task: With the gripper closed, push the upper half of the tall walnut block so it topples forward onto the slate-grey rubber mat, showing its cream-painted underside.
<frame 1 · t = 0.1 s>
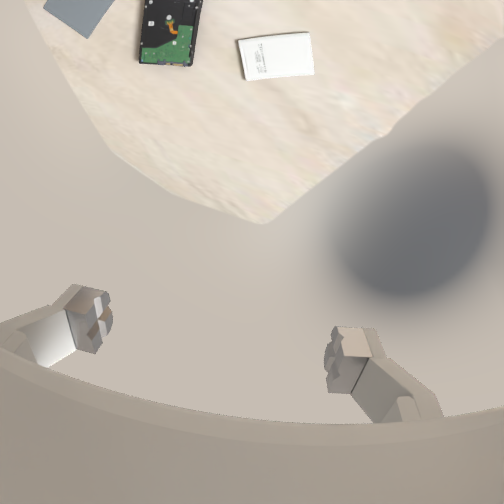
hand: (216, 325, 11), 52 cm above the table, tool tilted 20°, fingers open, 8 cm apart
disk drive: (172, 27, 44), on the table
external hard drive: (277, 55, 47), on the table
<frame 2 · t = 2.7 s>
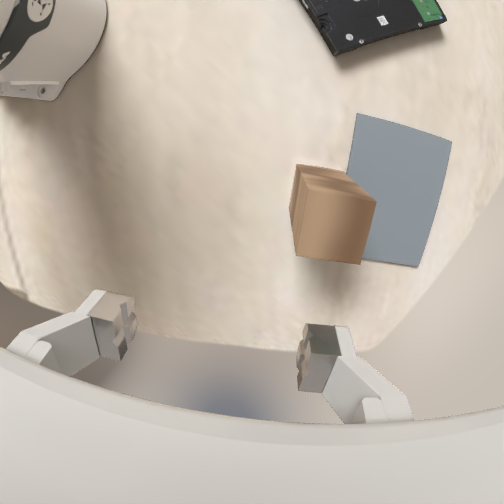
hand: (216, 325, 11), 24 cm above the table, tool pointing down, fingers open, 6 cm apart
rubber mat: (393, 195, 32), on the table
walnut block: (315, 189, 32), on the table
disk drive: (366, 1, 23), on the table
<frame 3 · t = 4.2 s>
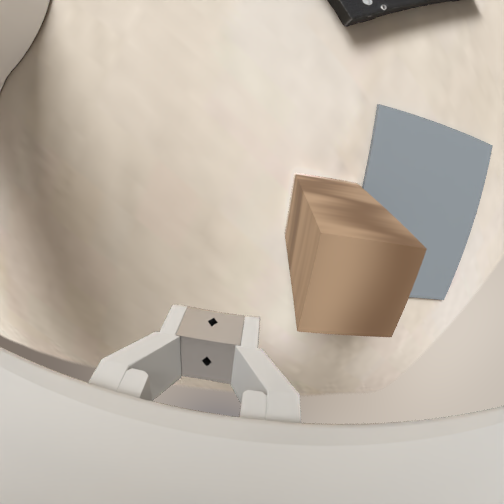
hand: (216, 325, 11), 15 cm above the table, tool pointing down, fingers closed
rubber mat: (421, 214, 24), on the table
walnut block: (320, 208, 24), on the table
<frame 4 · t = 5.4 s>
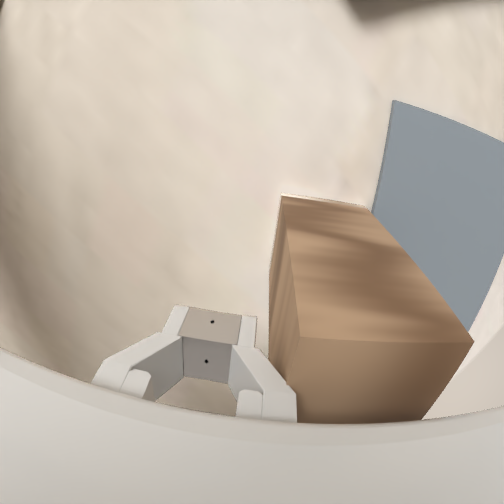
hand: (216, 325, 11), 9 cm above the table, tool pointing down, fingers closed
rubber mat: (444, 244, 18), on the table
walnut block: (316, 238, 18), on the table, touching gripper
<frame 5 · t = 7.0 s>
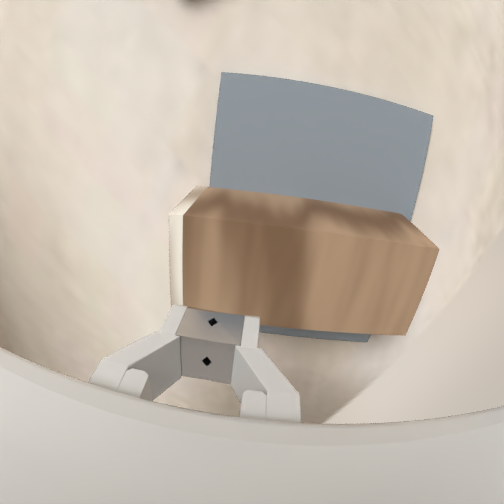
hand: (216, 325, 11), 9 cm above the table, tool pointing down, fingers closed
rubber mat: (311, 225, 18), on the table
walnut block: (183, 244, 16), point 3 cm above the table, tilted 90°, touching rubber mat
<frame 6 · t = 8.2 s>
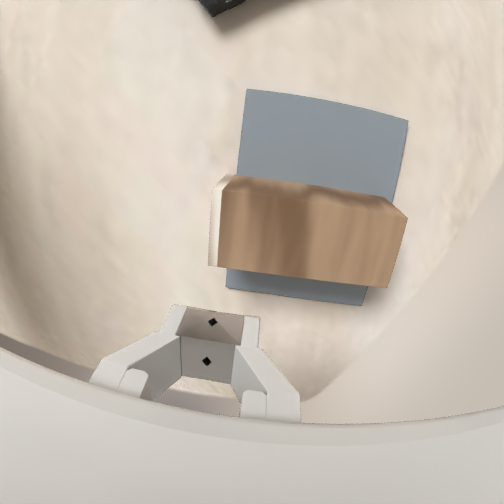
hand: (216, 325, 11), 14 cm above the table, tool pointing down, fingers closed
rubber mat: (313, 205, 23), on the table
walnut block: (217, 216, 21), point 3 cm above the table, tilted 90°, touching rubber mat
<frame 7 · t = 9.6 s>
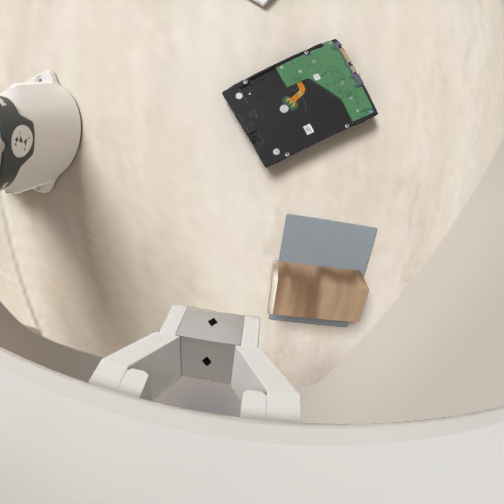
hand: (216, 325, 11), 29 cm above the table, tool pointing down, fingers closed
rubber mat: (320, 275, 42), on the table
walnut block: (270, 286, 40), point 3 cm above the table, tilted 90°, touching rubber mat
disk drive: (300, 101, 33), on the table
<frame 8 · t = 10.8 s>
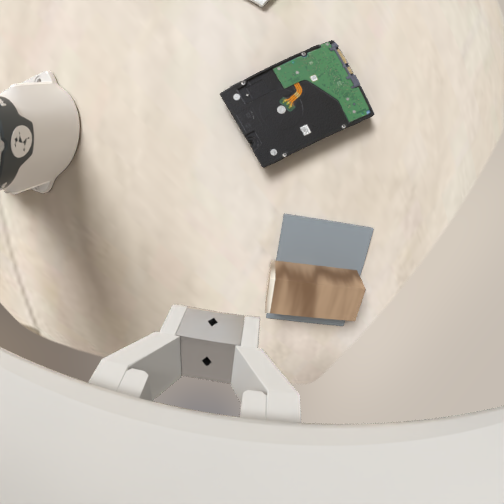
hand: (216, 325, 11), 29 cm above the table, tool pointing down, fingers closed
rubber mat: (317, 275, 42), on the table
walnut block: (268, 285, 40), point 3 cm above the table, tilted 90°, touching rubber mat
disk drive: (297, 101, 34), on the table
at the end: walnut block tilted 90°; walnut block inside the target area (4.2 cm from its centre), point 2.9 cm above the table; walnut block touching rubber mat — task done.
